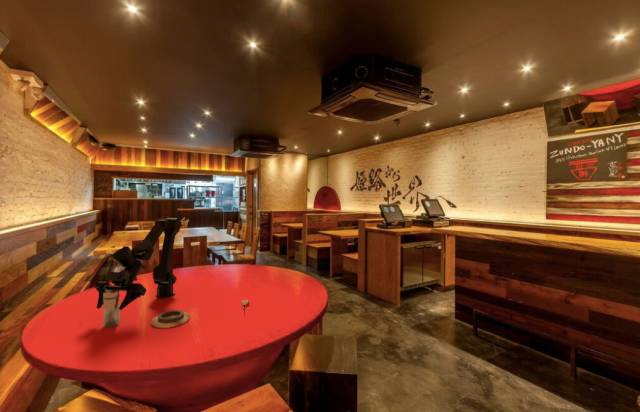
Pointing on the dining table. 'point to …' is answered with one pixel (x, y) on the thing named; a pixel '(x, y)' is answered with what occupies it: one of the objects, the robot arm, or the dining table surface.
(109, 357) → the dining table surface
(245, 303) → the fork
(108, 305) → the grey lidded canister
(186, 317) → the collar board
